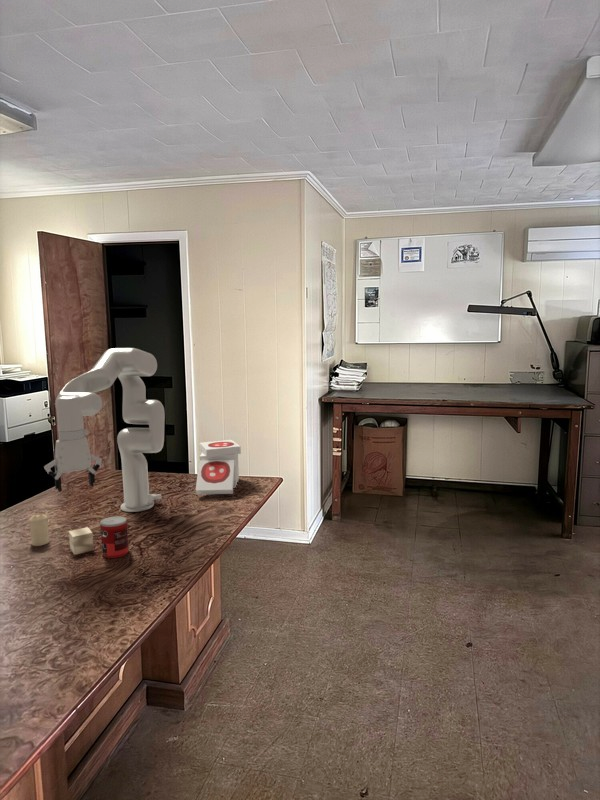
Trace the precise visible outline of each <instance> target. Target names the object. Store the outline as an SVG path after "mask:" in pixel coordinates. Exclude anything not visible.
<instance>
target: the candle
mask: <svg viewBox="0 0 600 800" xmlns="http://www.w3.org/2000/svg"><path fill="white" fill-rule="evenodd" d="M28 521H29V531H30V541H31V545H32V546H34V547H39V546H45V545H47V544H49V543H50V531H49V529H50V528H49V520H48V516H47V515H46V514H44V513H37V512H36V513H34V514H32V516H31V517H30V518H29V519H28Z"/></svg>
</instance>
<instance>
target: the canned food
mask: <svg viewBox="0 0 600 800" xmlns="http://www.w3.org/2000/svg"><path fill="white" fill-rule="evenodd" d="M99 524H100V525H99V526H100V537H101V538H100V539H101V552H102V555H103V557H105V558H106V559H118V558H121V557H124V556H126V555H128V553H129V537H128V536H129V535H128V522H127V518H126V517H125V516H121V515H120V516H119V515H118V516H115V515H114V516H109V517H106V518H102V519H101V520H100V523H99Z"/></svg>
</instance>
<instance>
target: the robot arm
mask: <svg viewBox="0 0 600 800" xmlns="http://www.w3.org/2000/svg"><path fill="white" fill-rule="evenodd" d="M157 369H158V362H157V359H156V357H155V356H154V355H153V354H152V353H150V352H147V351H144V350H141V349H139V348H135V347H115V348H114V347H113V348H108V349H107V350H105V351H104V353H102V355H101V356H100V358H99V359H98V360H97V361H96V363H95V364H94V365H93V366H92V368H91V369H90V370H89V371H86V372H84V373H82V374H80V375H79V376H77V377H75V378H73V379H71V380H69V381H68V382H67V383H66V384H65V385H64V386H63V388H61V390H59V391H60V392H59V393H58V394H57V396H56V399H55V402H54V403H55V404H54V405H55V408H56V409H55V410H56V420H57V432H58V439H57V440H56V441H55V447H54V448H55V449H54V451H55V452H54V454H55V455H54V457H55V459H52V460H51V461H50V462H49V463H47V464H45V465H44V466H43V468H44V470H45V472H47V474H48V475H49V476H50V477H52V478H53V479H54V486H55V489H56V490H57V491H58V492H59V493H60V492H62V491H63V490H62V479H61V476H62V474H64V473H71V472H77V471H83V470H88V471H89V472H88V473H87V476H88V484H89V486H90V487H94V483H96V478H95V474H96V472H97V471H98V470H99V468H100V466H101V464H102V462H103V459H102V458H101V457H99V456H96V455H93V454H91V452H90V446H89V445H90V444H89V441H88V438H87V437H86V435H89V434H90V431H89V429H86V428H85V427H84V417H88V416H89V417H90V416H94V415H96V414H98V413H99V412H100V411H101V409H102V407H103V401H102V397H101V396H100V395H99V394H98V393H97V392H100V391H101V392H102V391H104V390H106V389H109V388H111V387H112V386H113V384H114V383H115V381H116V380H117V379H118V380H119V381H120V383H121V387H122V419H123V421H124V423H126V424H130V425H131V424H132V425H148V427H126V428H123V429H121V430H120V431H119V432H118V434H117V436H116V437H117V438H116V439H117V440H116V442H117V445H118V450H119V453H120V454H119V455H120V459H121V461H120V462H121V472H122V474H121V475H122V486H123V503H121V505H120V506H119V507H120V510H121V511H123V512H126V513H127V512H128V513H134V512H135V513H138V512H145V511H147V510H149V509H151V508H153V507H154V505H155V502H154V501H155V500H161V499H162V497H163V496H162V494H161V493H158V494H157V493H150V488H149V473H148V461H147V459H146V456H145V455H144V454H153V453H154V454H157V453H160V452H161V451H162V449H163V448H164V442H165V422H166V421H165V413H166V412H165V407H164V405H163V404H162V402H161V401H160V400H158V399H147V397H146V394H147V393H146V391H147V389H146V385H145V383H144V381H143V379H142V378H141V377H152V376H153V375H155V373H156V371H157ZM92 460H93V461H95V464H94V465H93V466H92ZM54 466H55V468H56V471H55V472H53V471H52V470H51V468H53V467H54Z"/></svg>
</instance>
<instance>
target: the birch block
mask: <svg viewBox="0 0 600 800" xmlns="http://www.w3.org/2000/svg"><path fill="white" fill-rule="evenodd" d="M93 536H94V533H93V532H92V530H91V529H90V528H89V527H88V526H87V527H82V528H78V529H73V530H68V541H69V549H70V551H71V552H72V554H73V555H74V556H75V555H78V554H84V553H88V552H92V551H95V549H94V537H93Z"/></svg>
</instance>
